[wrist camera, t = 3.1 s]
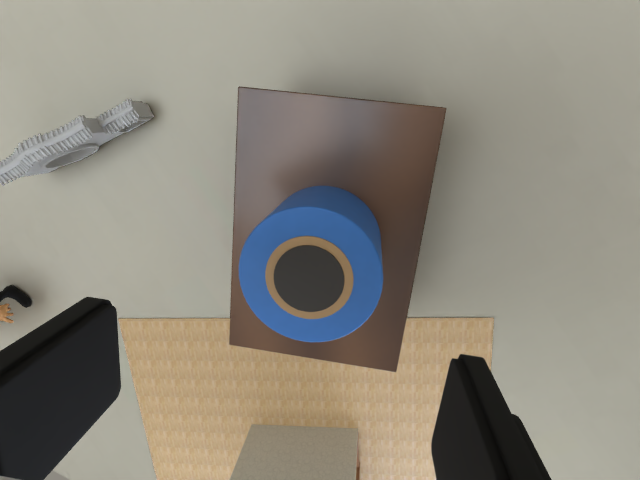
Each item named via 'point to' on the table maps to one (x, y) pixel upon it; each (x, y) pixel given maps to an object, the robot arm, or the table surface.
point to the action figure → (16, 294)
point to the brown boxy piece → (345, 173)
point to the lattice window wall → (72, 141)
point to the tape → (314, 265)
